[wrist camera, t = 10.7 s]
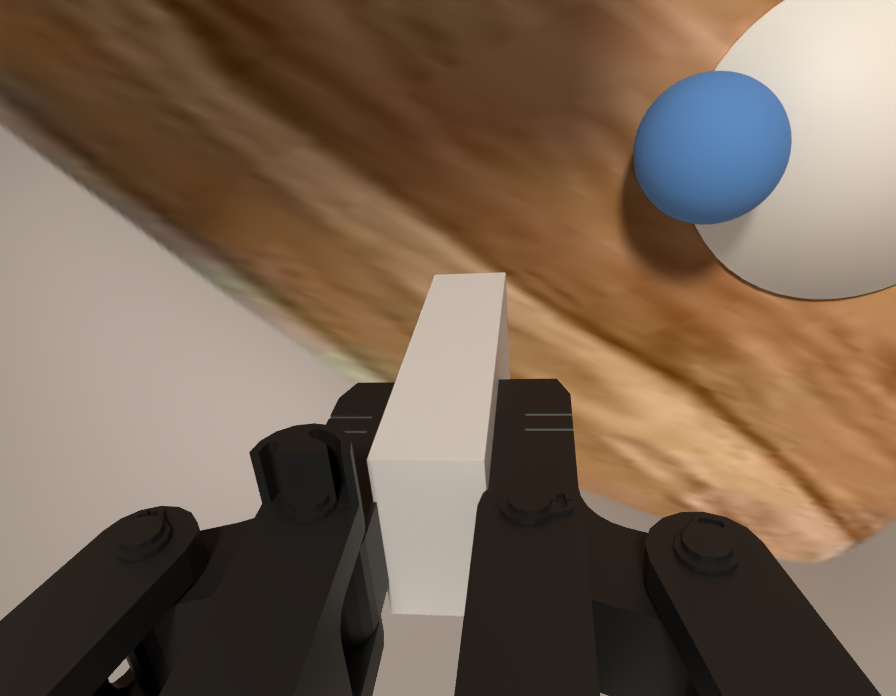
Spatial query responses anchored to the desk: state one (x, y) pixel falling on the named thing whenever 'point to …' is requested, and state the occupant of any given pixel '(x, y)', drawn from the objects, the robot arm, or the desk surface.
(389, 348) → the desk surface
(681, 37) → the desk surface
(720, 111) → the ball
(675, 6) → the desk surface
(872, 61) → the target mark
